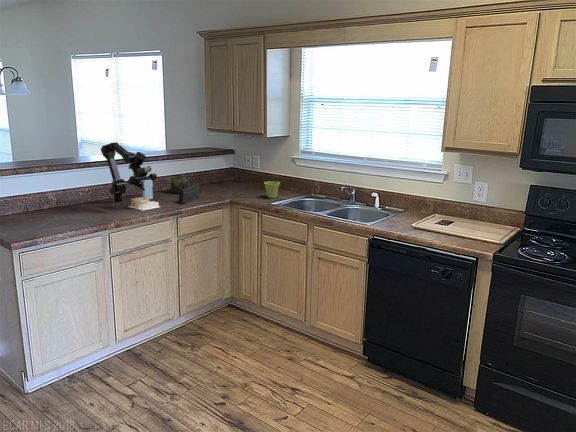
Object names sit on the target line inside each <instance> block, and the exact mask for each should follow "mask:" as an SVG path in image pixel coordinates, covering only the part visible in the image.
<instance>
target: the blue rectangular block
mask: <svg viewBox="0 0 576 432" xmlns="http://www.w3.org/2000/svg"><path fill="white" fill-rule="evenodd" d="M141 183H142V184H143V186H144V188H145V191H144V190H142V197H143V200H148V199H149V200H151V199H153V198H154V194H153V193H154V191H153V190H154V189H152V180H142V181H141Z"/></svg>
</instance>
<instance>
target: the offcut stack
mask: <svg viewBox="0 0 576 432" xmlns="http://www.w3.org/2000/svg"><path fill="white" fill-rule="evenodd" d="M130 202H131V204H130V206H133V207H137V208H138V204H140V203H146V202H151V200H150V199H148V200H143V196H142V197H135V198H131V199H130Z"/></svg>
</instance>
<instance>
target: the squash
mask: <svg viewBox="0 0 576 432" xmlns="http://www.w3.org/2000/svg"><path fill="white" fill-rule="evenodd" d="M190 187H191V183H190V179H188V177H187V176H186V174H184V173H181V174H179V175H177V176H176V177H173V178H172V179H171V181H170V190H171V191H172V192H173V193H174V194H179V192H180V190H181V189H187V188H190Z"/></svg>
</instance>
